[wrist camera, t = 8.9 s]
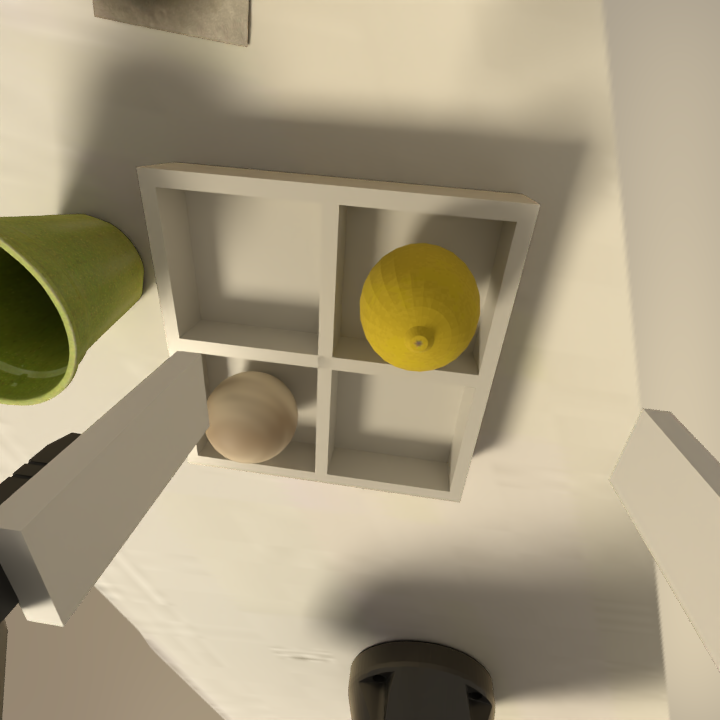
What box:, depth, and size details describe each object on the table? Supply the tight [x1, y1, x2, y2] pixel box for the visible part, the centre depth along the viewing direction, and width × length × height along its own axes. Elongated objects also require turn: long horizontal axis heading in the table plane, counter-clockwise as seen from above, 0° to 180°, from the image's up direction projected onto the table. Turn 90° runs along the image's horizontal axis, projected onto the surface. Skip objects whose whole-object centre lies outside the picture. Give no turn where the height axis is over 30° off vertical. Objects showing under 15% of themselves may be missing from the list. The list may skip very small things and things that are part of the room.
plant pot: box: [0, 214, 144, 405], centre depth 22 cm, size 9×9×9 cm
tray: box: [136, 162, 540, 502], centre depth 25 cm, size 18×18×4 cm
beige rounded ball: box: [206, 371, 298, 464], centre depth 25 cm, size 6×6×6 cm
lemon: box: [360, 243, 480, 372], centre depth 19 cm, size 6×6×8 cm
